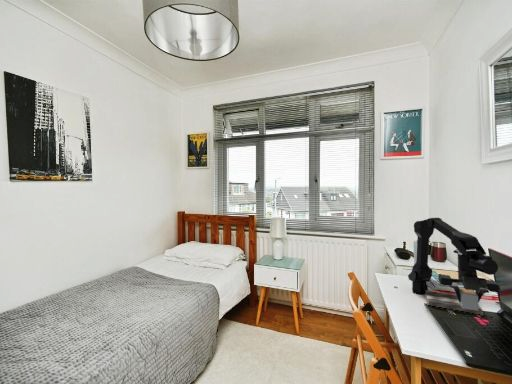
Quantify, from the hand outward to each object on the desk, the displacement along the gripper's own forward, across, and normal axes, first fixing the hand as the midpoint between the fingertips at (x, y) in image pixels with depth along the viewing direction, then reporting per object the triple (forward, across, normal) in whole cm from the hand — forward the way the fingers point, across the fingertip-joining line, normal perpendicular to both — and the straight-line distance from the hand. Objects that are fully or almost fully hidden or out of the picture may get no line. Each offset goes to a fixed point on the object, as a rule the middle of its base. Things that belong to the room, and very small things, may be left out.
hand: (467, 303), depth 99 cm
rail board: (+8, -3, +16) cm, 18 cm away
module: (+1, 0, 0) cm, 1 cm away
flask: (+9, -13, +44) cm, 47 cm away
